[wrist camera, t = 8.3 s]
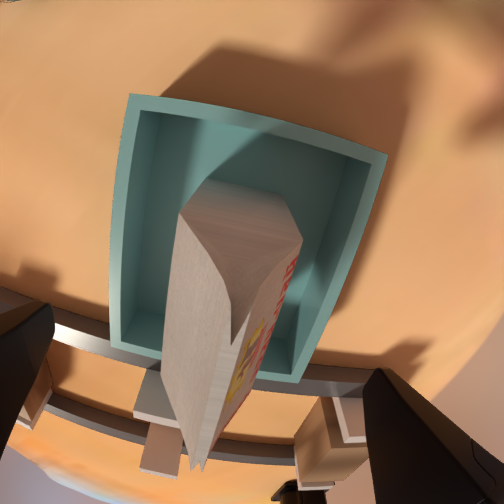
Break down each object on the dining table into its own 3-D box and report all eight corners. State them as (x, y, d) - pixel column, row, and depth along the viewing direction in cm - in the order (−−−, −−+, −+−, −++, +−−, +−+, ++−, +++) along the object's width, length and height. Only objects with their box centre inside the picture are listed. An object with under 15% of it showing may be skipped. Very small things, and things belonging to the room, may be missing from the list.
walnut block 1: (53, 382, 21) (31, 421, 16) (20, 367, 21) (-3, 403, 16) (41, 333, 19) (10, 375, 14) (6, 318, 18) (-26, 354, 14)
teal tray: (291, 343, 19) (298, 383, 15) (130, 310, 18) (110, 346, 14) (358, 147, 14) (388, 154, 11) (155, 99, 13) (129, 93, 10)
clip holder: (325, 453, 25) (332, 494, 20) (24, 388, 22) (4, 422, 17) (388, 370, 20) (411, 419, 15) (-7, 283, 17) (-44, 317, 12)
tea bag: (184, 298, 17) (137, 459, 7) (205, 177, 14) (130, 281, 5) (249, 311, 17) (251, 478, 8) (282, 195, 14) (339, 322, 5)
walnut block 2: (333, 436, 24) (343, 480, 19) (293, 435, 23) (299, 482, 19) (363, 397, 21) (380, 445, 17) (319, 395, 21) (331, 448, 16)
